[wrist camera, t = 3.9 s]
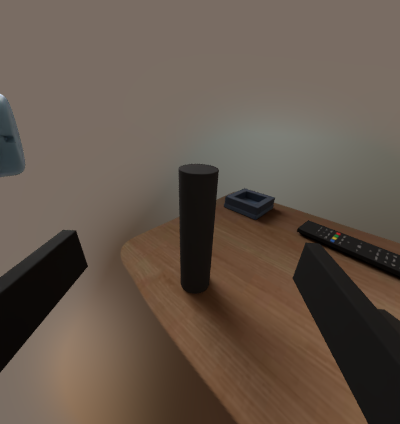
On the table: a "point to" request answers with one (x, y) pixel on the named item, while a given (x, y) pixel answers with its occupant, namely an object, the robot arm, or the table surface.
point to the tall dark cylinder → (196, 224)
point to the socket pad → (249, 203)
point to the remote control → (353, 246)
